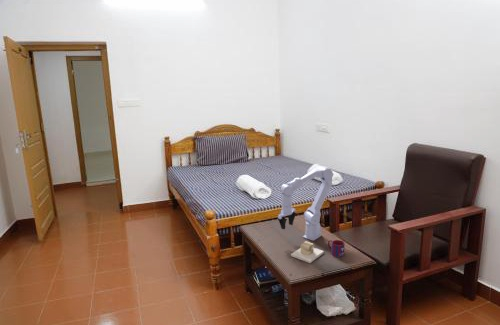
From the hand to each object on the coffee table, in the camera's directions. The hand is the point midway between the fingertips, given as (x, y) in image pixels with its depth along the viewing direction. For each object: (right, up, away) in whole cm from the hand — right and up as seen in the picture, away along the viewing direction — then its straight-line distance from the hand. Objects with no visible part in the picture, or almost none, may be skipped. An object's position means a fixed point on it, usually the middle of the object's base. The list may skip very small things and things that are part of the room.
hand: (287, 226), depth 198 cm
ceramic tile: (+10, -13, -14) cm, 21 cm away
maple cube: (+9, -11, -14) cm, 20 cm away
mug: (+25, -12, -13) cm, 31 cm away
